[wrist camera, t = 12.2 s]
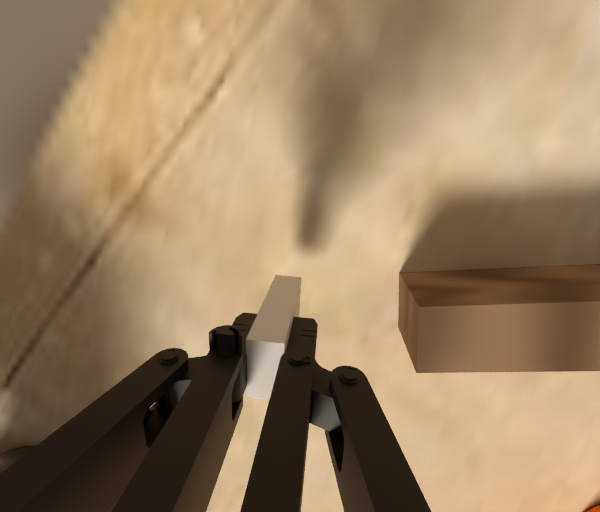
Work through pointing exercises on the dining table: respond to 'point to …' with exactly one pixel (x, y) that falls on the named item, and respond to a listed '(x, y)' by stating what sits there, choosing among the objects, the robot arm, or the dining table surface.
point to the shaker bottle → (594, 509)
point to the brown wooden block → (502, 319)
